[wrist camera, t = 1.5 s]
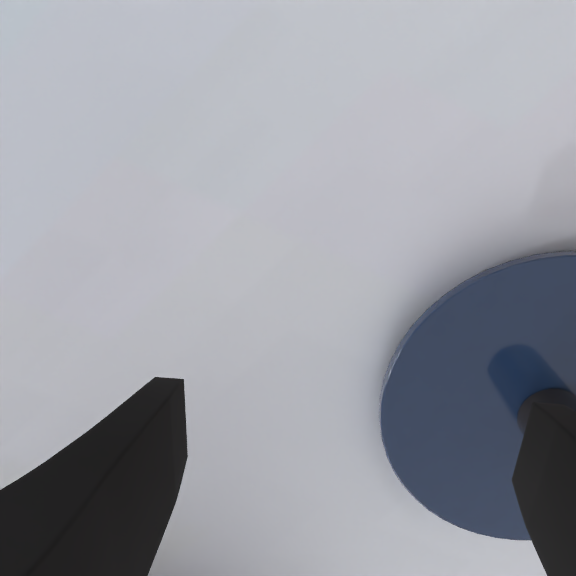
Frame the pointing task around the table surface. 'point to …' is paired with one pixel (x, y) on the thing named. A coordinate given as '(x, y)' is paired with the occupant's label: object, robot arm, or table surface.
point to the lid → (480, 389)
